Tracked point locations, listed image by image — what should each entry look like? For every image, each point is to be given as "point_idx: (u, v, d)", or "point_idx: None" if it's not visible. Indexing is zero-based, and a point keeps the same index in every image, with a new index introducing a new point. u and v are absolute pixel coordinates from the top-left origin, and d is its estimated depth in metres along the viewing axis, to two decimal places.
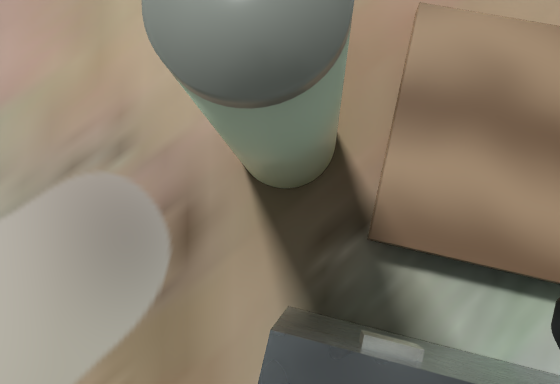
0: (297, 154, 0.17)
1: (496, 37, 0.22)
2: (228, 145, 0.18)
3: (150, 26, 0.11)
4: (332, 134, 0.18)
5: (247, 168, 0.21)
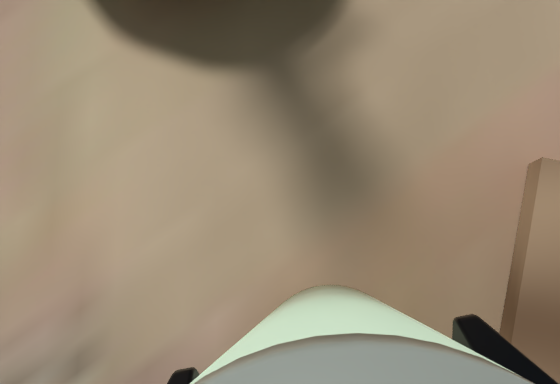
0: None
1: None
2: None
3: None
4: None
5: None
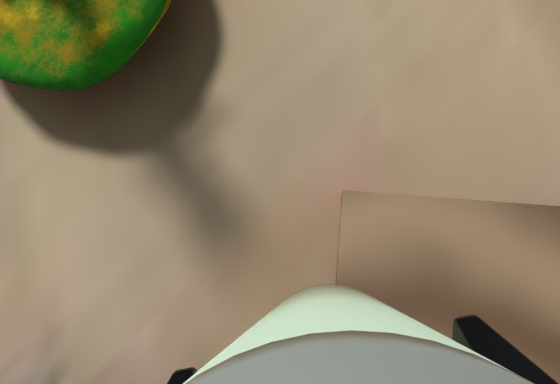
0: None
1: (426, 220, 0.21)
2: None
3: None
4: None
5: None
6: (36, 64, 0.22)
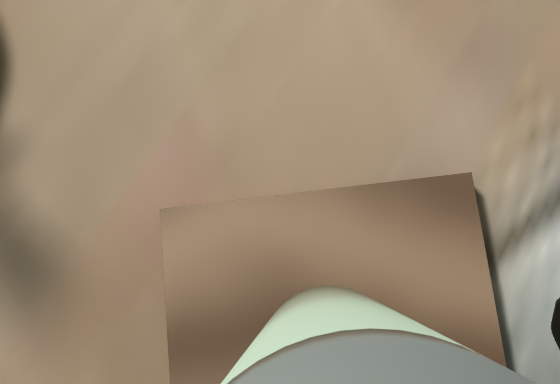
0: None
1: (261, 226, 0.18)
2: None
3: None
4: None
5: None
6: None
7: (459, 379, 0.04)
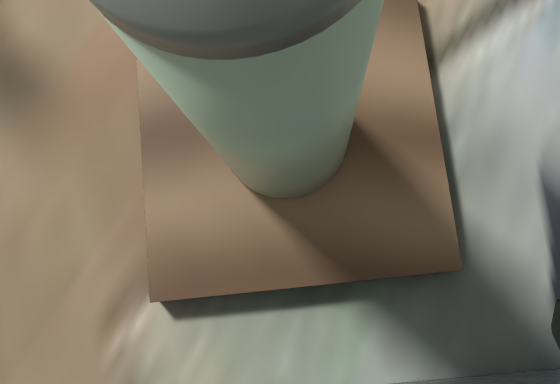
0: (302, 151, 0.12)
1: None
2: (206, 140, 0.13)
3: None
4: (349, 125, 0.13)
5: (234, 172, 0.17)
6: None
7: None
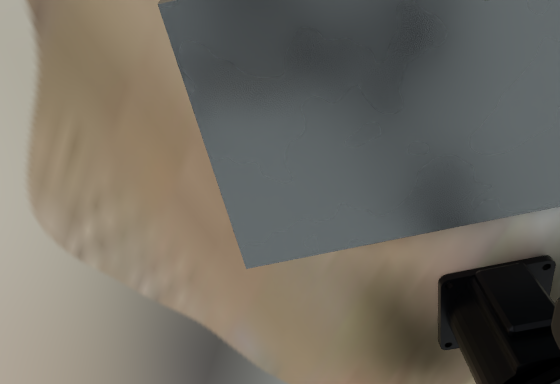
0: None
1: None
2: None
3: None
4: None
5: None
6: None
7: None
